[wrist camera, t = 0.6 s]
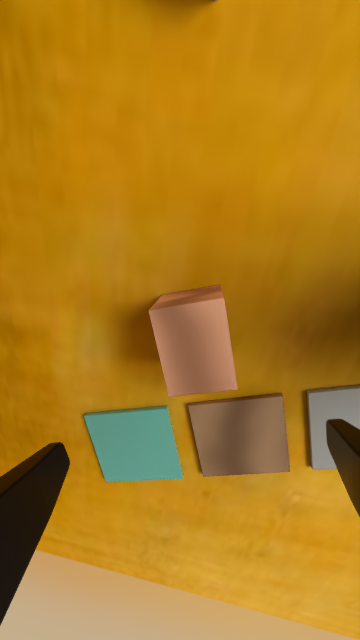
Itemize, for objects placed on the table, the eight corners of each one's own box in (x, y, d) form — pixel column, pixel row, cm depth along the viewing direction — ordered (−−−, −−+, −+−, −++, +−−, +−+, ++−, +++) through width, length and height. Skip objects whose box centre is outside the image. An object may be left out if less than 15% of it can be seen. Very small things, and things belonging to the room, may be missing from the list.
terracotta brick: (219, 284, 19) (224, 297, 14) (230, 355, 20) (237, 389, 16) (162, 294, 20) (148, 310, 15) (177, 362, 21) (168, 397, 16)
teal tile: (168, 401, 23) (166, 408, 22) (183, 469, 25) (182, 478, 24) (88, 409, 24) (83, 416, 23) (109, 473, 26) (105, 482, 25)
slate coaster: (408, 375, 20) (418, 382, 19) (403, 455, 22) (412, 464, 21) (304, 386, 21) (308, 393, 20) (308, 460, 23) (313, 469, 22)
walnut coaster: (279, 389, 21) (283, 396, 20) (286, 462, 24) (290, 471, 23) (188, 399, 23) (187, 405, 22) (203, 467, 25) (203, 476, 24)
